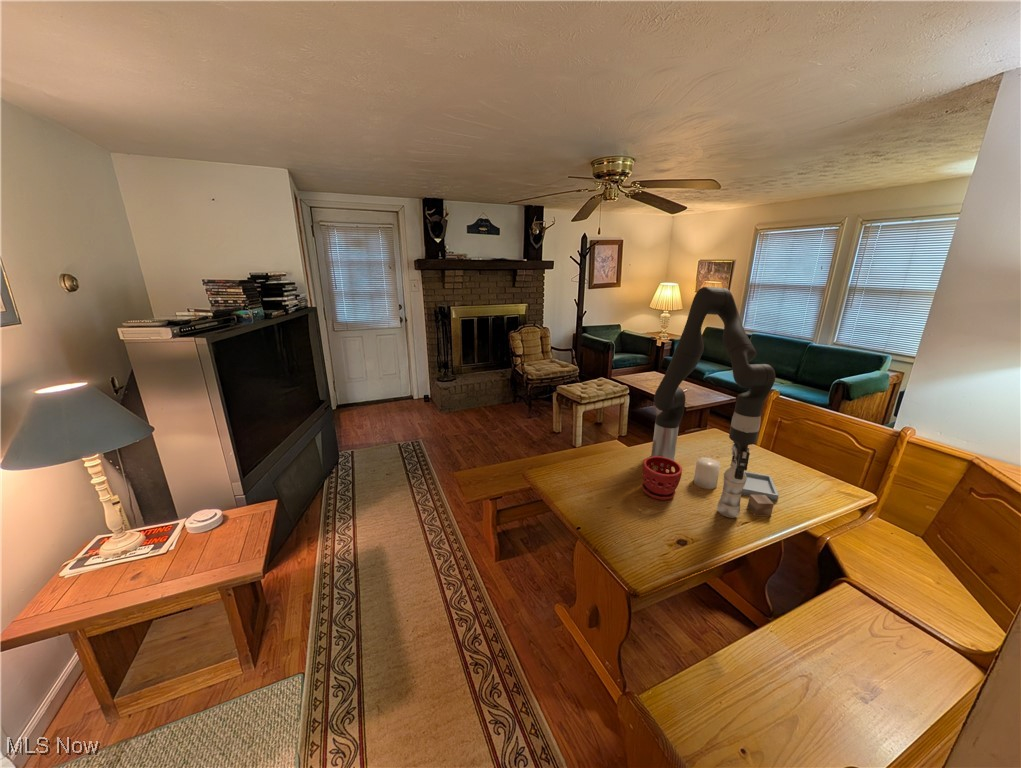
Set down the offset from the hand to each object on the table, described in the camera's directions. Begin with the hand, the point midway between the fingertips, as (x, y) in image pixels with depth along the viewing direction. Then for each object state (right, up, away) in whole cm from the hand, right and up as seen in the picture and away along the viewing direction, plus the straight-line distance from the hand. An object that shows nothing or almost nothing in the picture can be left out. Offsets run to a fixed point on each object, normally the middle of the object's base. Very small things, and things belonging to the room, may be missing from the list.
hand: (736, 472), depth 121 cm
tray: (+18, -10, +20) cm, 29 cm away
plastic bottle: (0, -16, +5) cm, 17 cm away
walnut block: (+12, -15, +6) cm, 20 cm away
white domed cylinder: (+2, -10, +23) cm, 25 cm away
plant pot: (-19, -12, +17) cm, 28 cm away
